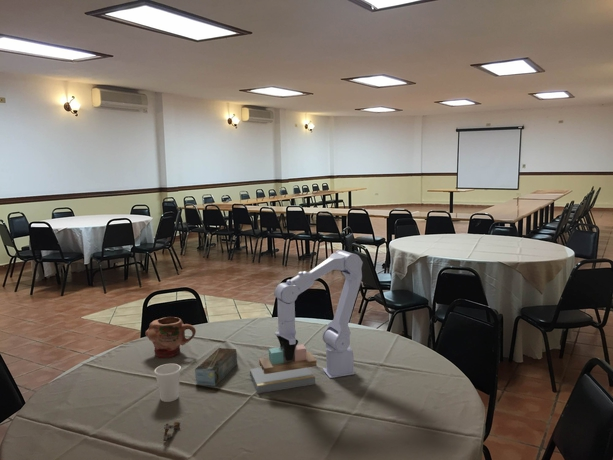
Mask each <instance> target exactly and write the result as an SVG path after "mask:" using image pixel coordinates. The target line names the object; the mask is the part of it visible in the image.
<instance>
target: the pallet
mask: <svg viewBox="0 0 613 460" xmlns="http://www.w3.org/2000/svg"><path fill="white" fill-rule="evenodd" d="M279 347H280V348H281V349H282V351H283V363H280V364H273V365H272V364H271V362H270V361H269V357H264V358H259V359H258V360H259V361H258V362H259V367H261V368H262V370H263V371H264V374H269V373H276V372H282V371H289V370H295V369H301V368H314V367H318V366H317V364H318V363H317V362H318V361H317V359H316V358H315V357H314V355H312V353H311V352H310V351H306V360H301V361H295V351H294V356H293V360H289V361H287V360H286V357H285V352H284V348H283V346H279Z"/></svg>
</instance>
